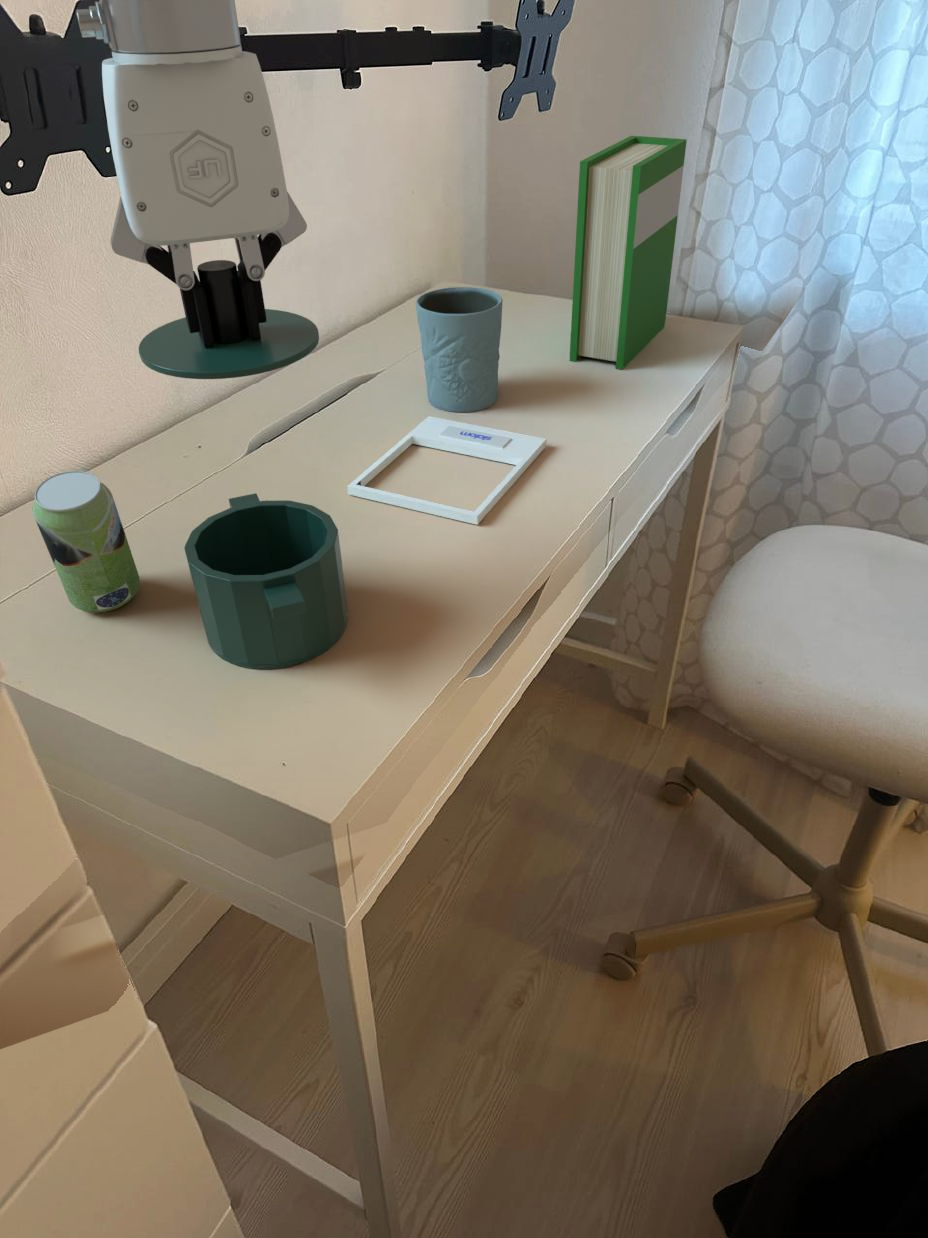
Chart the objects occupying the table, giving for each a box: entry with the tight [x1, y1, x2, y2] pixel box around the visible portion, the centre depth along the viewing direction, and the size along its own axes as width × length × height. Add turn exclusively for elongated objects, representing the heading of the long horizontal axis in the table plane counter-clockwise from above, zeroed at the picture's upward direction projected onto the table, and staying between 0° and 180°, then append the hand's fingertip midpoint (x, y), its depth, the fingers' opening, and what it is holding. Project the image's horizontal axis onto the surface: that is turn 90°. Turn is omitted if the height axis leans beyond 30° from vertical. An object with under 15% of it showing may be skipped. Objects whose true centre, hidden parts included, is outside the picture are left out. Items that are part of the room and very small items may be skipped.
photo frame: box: [346, 415, 547, 526], centre depth 95 cm, size 15×1×18 cm
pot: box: [183, 492, 349, 670], centre depth 72 cm, size 12×17×8 cm
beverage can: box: [32, 470, 141, 613], centre depth 74 cm, size 6×7×12 cm
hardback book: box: [569, 135, 688, 370], centre depth 116 cm, size 18×7×24 cm, turn 152°
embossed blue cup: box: [414, 286, 504, 413], centre depth 106 cm, size 10×10×12 cm
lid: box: [138, 259, 320, 380], centre depth 63 cm, size 13×13×6 cm
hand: (229, 334), depth 64 cm, fingers closed on lid, 2 cm apart
